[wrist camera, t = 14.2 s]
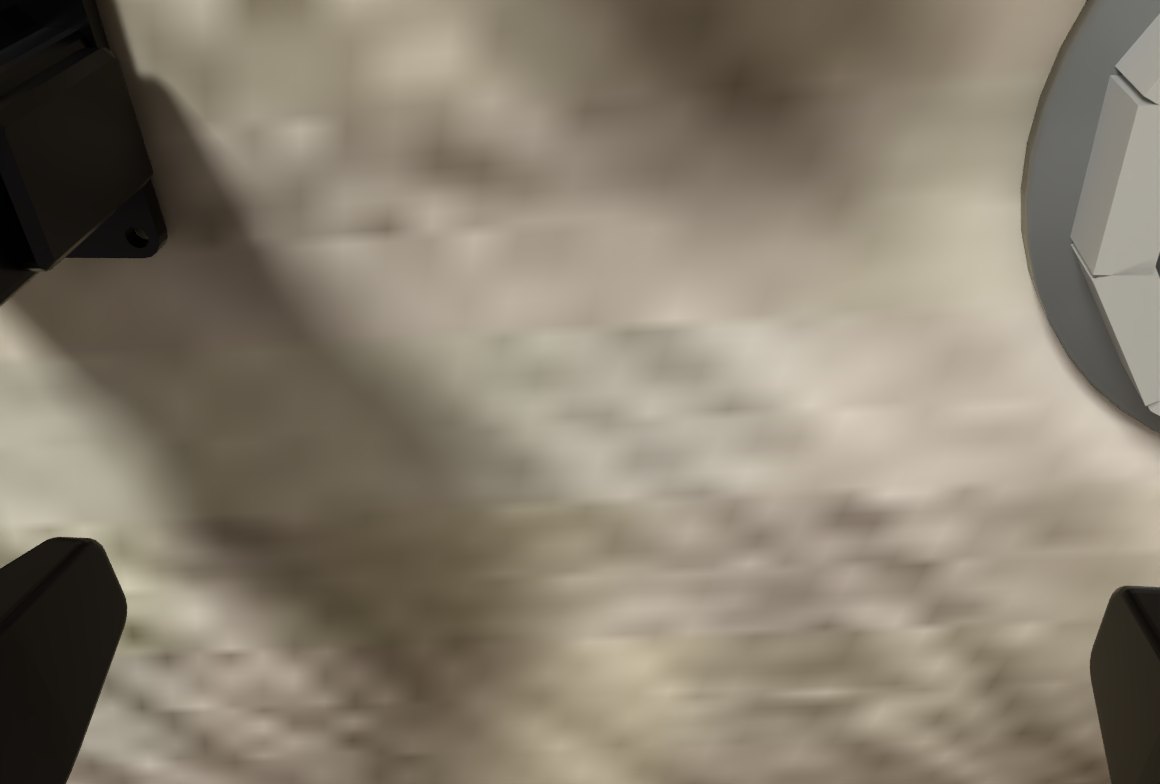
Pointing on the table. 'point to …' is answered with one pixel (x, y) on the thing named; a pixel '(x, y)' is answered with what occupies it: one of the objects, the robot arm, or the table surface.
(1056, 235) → the grey shallow dish
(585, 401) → the table surface
